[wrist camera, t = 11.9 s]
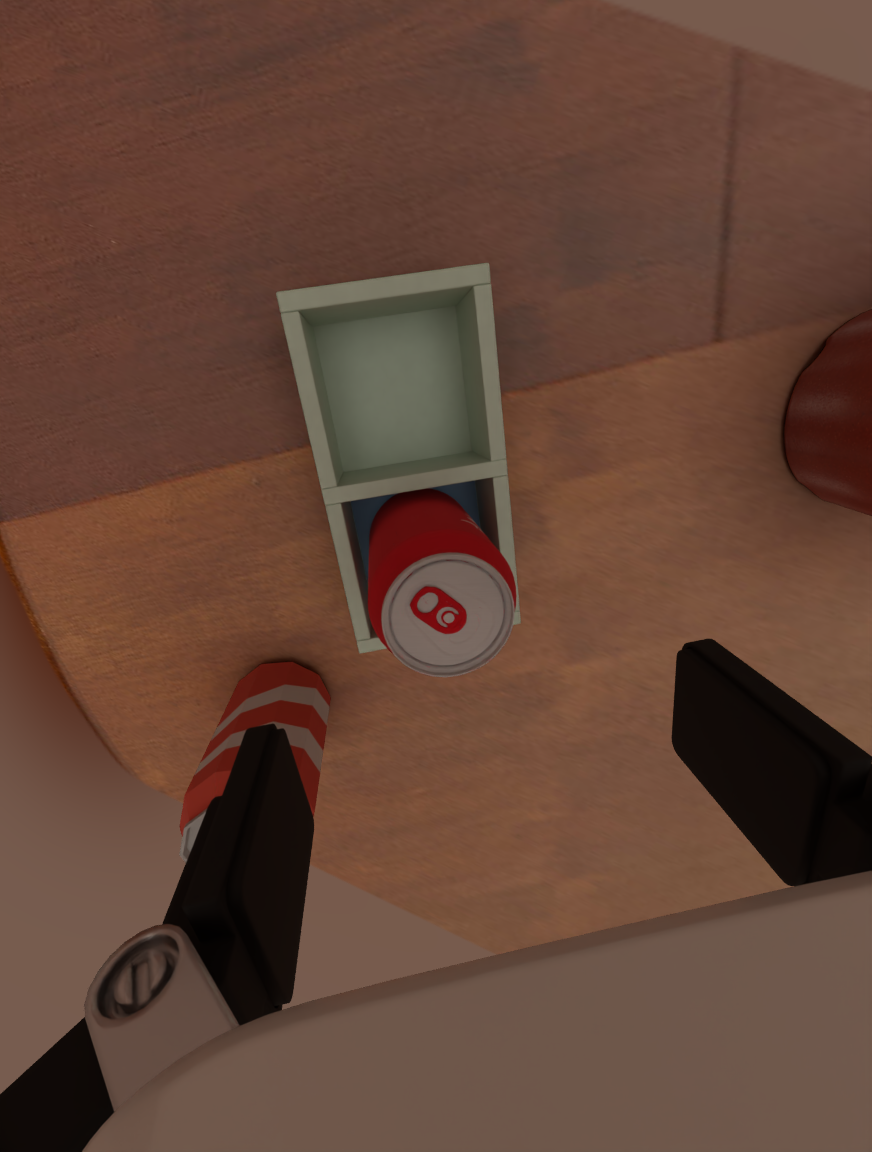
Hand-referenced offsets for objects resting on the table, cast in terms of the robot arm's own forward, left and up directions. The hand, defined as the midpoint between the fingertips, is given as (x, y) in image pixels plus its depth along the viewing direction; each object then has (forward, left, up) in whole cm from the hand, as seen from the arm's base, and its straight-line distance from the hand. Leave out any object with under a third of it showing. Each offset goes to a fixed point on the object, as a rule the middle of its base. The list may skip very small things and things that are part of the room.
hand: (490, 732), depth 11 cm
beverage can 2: (+1, 0, -20) cm, 20 cm away
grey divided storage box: (-3, 0, -20) cm, 21 cm away
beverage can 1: (+11, -11, -20) cm, 25 cm away
